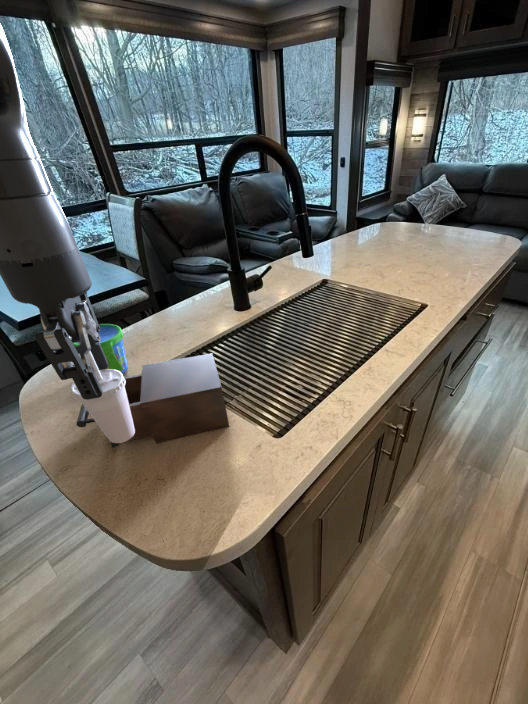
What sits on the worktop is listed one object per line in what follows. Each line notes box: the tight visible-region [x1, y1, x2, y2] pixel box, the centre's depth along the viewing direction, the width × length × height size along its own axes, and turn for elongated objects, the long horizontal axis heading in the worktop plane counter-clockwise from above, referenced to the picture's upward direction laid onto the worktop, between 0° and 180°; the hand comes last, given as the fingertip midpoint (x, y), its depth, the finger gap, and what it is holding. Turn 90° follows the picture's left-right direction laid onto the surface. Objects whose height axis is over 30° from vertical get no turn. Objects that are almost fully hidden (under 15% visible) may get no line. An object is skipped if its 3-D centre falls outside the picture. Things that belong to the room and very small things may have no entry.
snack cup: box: [73, 323, 129, 375], centre depth 77 cm, size 16×10×10 cm
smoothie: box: [70, 351, 135, 444], centre depth 45 cm, size 6×6×14 cm
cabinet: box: [140, 353, 230, 444], centre depth 65 cm, size 14×13×10 cm
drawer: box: [75, 373, 153, 448], centre depth 62 cm, size 17×11×8 cm
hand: (97, 381), depth 44 cm, fingers closed on smoothie, 6 cm apart
